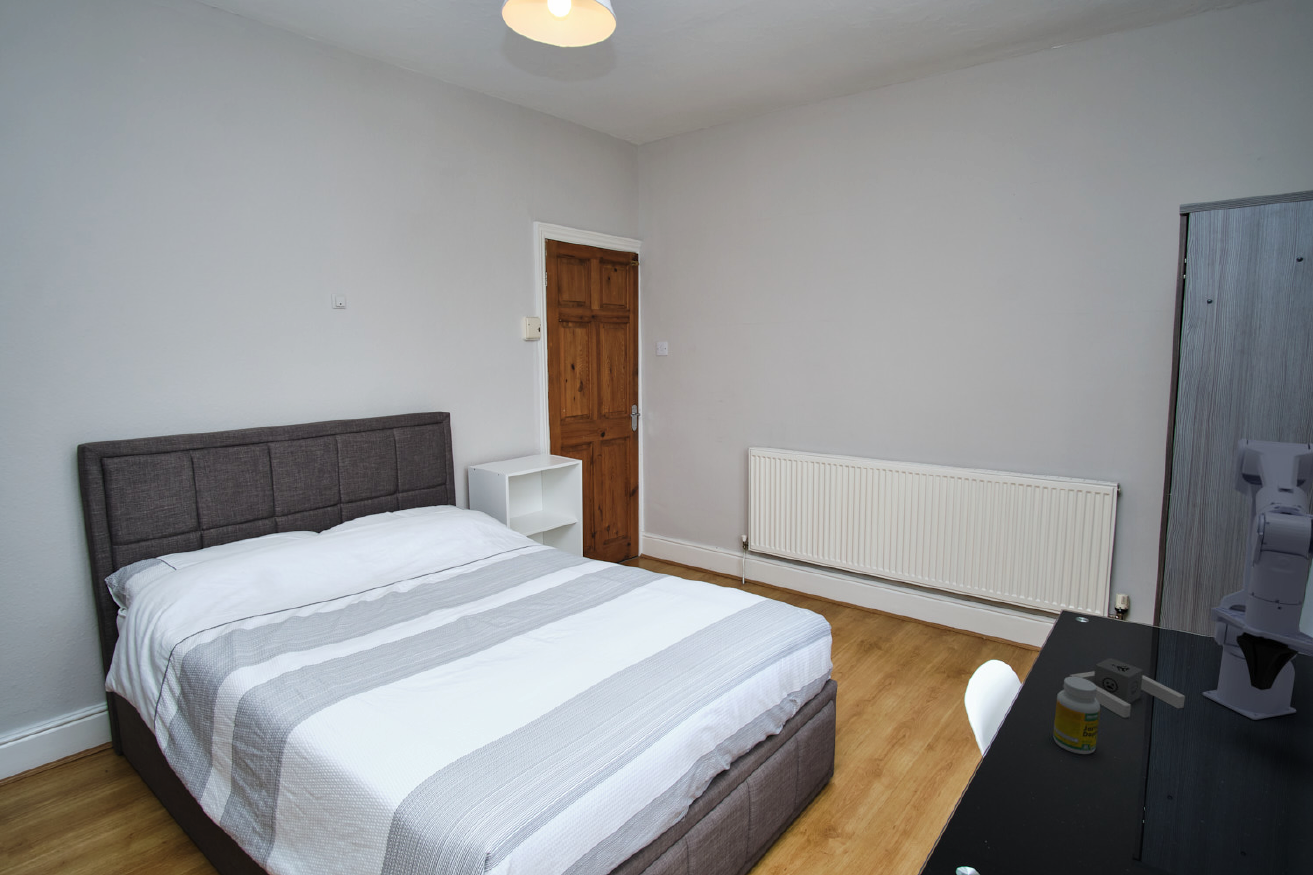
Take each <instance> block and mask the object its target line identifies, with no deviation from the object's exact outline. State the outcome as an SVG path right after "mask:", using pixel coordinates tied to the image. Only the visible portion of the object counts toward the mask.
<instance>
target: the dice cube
mask: <svg viewBox="0 0 1313 875" xmlns="http://www.w3.org/2000/svg"><path fill="white" fill-rule="evenodd" d="M1094 671H1095V674H1094V682H1093V683H1094V684H1095V685H1096V686H1098V687H1100V688H1101V689H1103V690H1105V691H1107V692H1109V693H1110V694H1112V695H1114V696H1116V697H1118V698H1119V699H1121V700H1123V701H1125V702H1127V703H1128V704H1130V705H1131V704H1132V703H1133V702H1135V701H1136V700H1138V699H1141V684H1142V676H1143V674H1144V669H1142V668H1139V667H1136V666H1134V665H1131V664H1127V663H1126V662H1123V661H1120V660H1117V659H1114V658H1113V657H1112V658H1111V657H1109V658H1106V659H1104V660H1103V661H1100V662H1099V663H1096V664H1095V668H1094Z"/></svg>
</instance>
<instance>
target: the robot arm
mask: <svg viewBox="0 0 1313 875" xmlns="http://www.w3.org/2000/svg"><path fill="white" fill-rule="evenodd" d="M1232 478H1233V479H1232V484H1234V487H1233V488H1234V490H1235V491H1237V492H1239V493H1241V494H1242V495H1244V496H1245V497H1246V501H1247V506H1248V520H1247V521H1248V522H1247V530H1246V531H1247V533H1246V543H1245V544H1246V545H1245V552H1244V555H1245V556H1244V562H1243V563H1244V565H1243V573H1242V574H1243V576H1242V585H1241V590H1238V591H1236V592H1233V593H1230V594H1227V595H1225V596H1223V597H1222V599H1220V600H1219V602H1218V607H1216V606H1215V607H1211V611H1210V612H1211V613H1210V618H1209V620H1210V621H1213V622H1215V625H1214V626H1215V627H1214V641H1215V642H1216V643H1217V644H1218V646H1219V645H1220V646H1222V648H1223V649H1222V654H1221V663H1220V669H1219V677H1218V682H1217V683H1218V684H1217V688H1216V689H1214V690H1213V689H1212V690H1209V691H1208V690H1207V691H1203V692H1202V695H1203V696H1204V697H1205V698H1208V699H1210V700H1212V701H1214V702H1216V703H1218V704H1220V705H1222V706H1225V707H1226V708H1228V709H1230V710H1233V711H1235V713H1238V714H1241V715H1243V716H1245V717H1247V718H1249V719H1251V720H1255V721H1256V720H1257V721H1258V720H1262V719H1268V718H1272V717H1273V718H1274V717H1277V716H1278V717H1279V716H1285V715H1288V714H1289V715H1290V714H1294V713H1297V710H1296V708H1294V707H1292V706H1291V703H1292V702H1291V700H1292V695H1293V688H1294V682H1295V676H1296V674H1295V672H1296V671H1295V668H1294V665H1293V663H1292V660H1293V659H1295V658H1296V657H1297V656H1298V655H1297V654H1299V653H1301V654H1304V655H1306V656H1309V657H1312V658H1313V637H1312V636H1310V635H1308V634H1306V633H1304V632H1302V631H1301V629H1300V620H1301V613H1302V607H1303V601H1304V595H1305V589H1306V583H1307V576H1308V570H1309V565H1310V560H1313V514H1310V507H1309V506H1310V505H1309V499H1308V495H1307V493H1308V492H1309V491H1310V488H1311V485H1312V481H1313V443H1311V442H1310V443H1298V442H1297V443H1296V442H1286V441H1285V442H1283V441H1270V440H1261V439H1259V440H1258V439H1247V438H1245V437H1244V438H1243V437H1242V438H1241V439H1239V440H1238V441H1237V444H1236V448H1235V454H1234V462H1233V477H1232ZM1308 555H1309V558H1308V557H1307V556H1308Z"/></svg>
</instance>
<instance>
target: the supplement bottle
mask: <svg viewBox="0 0 1313 875" xmlns="http://www.w3.org/2000/svg"><path fill="white" fill-rule="evenodd" d="M1096 691H1097V687H1096V685H1095V684H1094V683H1092V682H1091V681H1089V680H1086V679H1083V678H1079V677H1070V676H1067V677H1065V678H1064V680H1063V689H1062V690H1060V691H1059V692H1058V694H1057V696H1056V705H1055V715H1054V717H1055V718H1054V725H1053V726H1054V727H1053V735H1052V736H1053V739H1054V742H1055V743H1056V744H1057V745H1058V746H1059V747H1060V748H1062V749H1064V750H1066V751H1068V752H1071V753H1074V754H1078V755H1090V754H1092V753H1094V752H1095V750H1096V747H1097V740H1098V739H1097V738H1098V732H1099V723H1100V721H1099V720H1100V715H1101V714H1100V713H1101V704H1099V702H1098V700H1097V699H1096V698H1095V696H1096Z"/></svg>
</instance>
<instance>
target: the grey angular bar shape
mask: <svg viewBox="0 0 1313 875" xmlns="http://www.w3.org/2000/svg"><path fill="white" fill-rule="evenodd" d="M1094 674H1095V670H1094V671H1093V670H1092V671H1089V672H1087V671H1086V672H1080V673H1073V674H1069V677H1079V678H1083V679H1086V680H1089V681H1091V682H1092V683H1093V682H1094ZM1096 687H1097V691H1096V696H1095V698H1096V699H1097V700H1098V702H1099V704H1100V706H1103V707H1105V708H1106V709H1107V710H1110V711H1111V712H1113V713H1115V714H1117V715H1118V716H1120V717H1122V718H1123V719H1124V718H1126V719H1127V718H1130V715H1131V707H1132V705H1131V703H1130V704H1128V703H1127V702H1125V701H1123V700H1121V699H1119V698H1118V697H1116V696H1114V695H1112V694H1110V693H1109V692H1107V691H1105V690H1103V689H1101V688H1100V687H1098V686H1096ZM1141 690H1142V691H1143V692H1146V693H1147V694H1149V695H1151V696H1153V697H1154V698H1157V699H1158V700H1161V701H1162V702H1164V703H1166V704H1168V705H1170V706H1172V707H1174V708H1175V709H1183V708H1184V706H1185V700H1186V696H1185V695H1183V694H1182V693H1180V692H1178V691H1176V690H1175V689H1172V688H1170V687H1168V686H1165V685H1164V684H1162V683H1160V682H1158V681H1156V680H1154V679H1152V678H1149V677H1147V676H1146V675H1143V676H1142V684H1141Z"/></svg>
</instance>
